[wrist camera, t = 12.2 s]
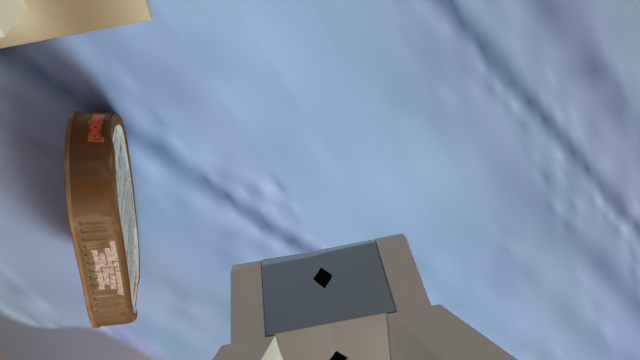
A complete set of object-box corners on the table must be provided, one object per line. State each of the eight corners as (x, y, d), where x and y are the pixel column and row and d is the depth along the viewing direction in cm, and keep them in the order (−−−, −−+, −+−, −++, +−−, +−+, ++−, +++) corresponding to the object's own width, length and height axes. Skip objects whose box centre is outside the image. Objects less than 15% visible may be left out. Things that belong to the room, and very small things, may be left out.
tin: (77, 85, 34) (42, 165, 28) (131, 86, 35) (110, 165, 28) (107, 263, 43) (86, 355, 37) (149, 261, 44) (137, 353, 37)
